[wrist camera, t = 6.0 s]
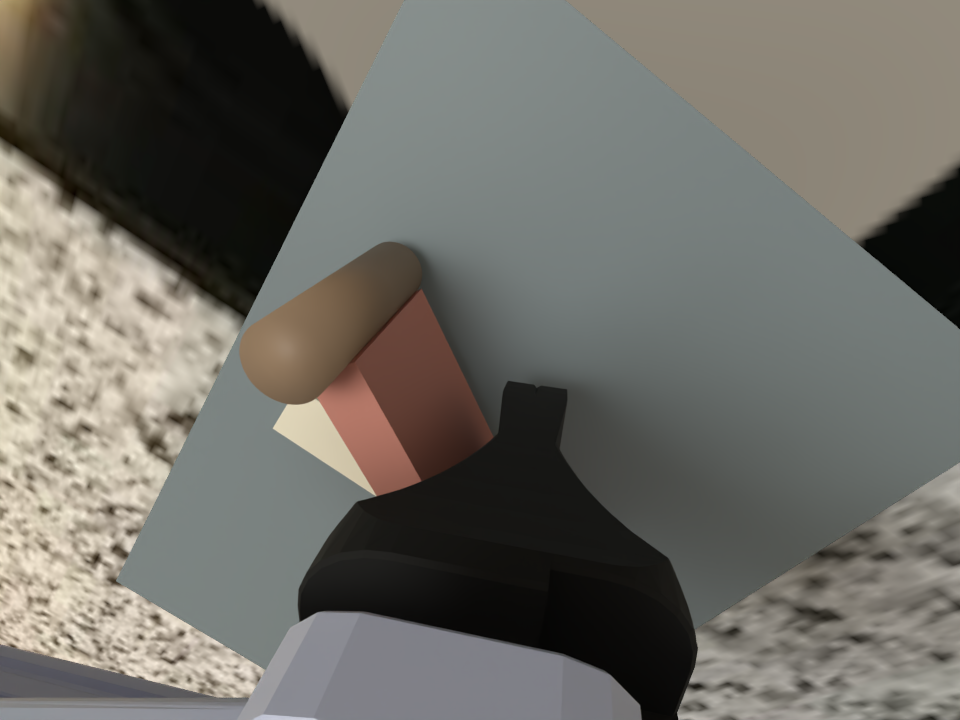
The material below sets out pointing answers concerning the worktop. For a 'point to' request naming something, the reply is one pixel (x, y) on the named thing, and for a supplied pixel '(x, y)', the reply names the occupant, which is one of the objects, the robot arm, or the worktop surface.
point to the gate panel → (371, 368)
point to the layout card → (574, 325)
